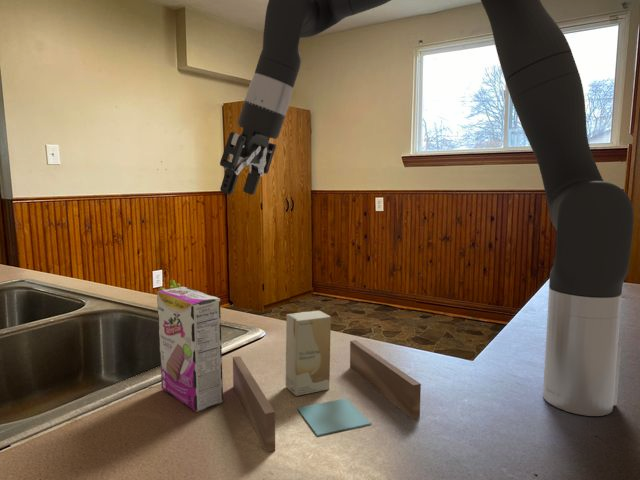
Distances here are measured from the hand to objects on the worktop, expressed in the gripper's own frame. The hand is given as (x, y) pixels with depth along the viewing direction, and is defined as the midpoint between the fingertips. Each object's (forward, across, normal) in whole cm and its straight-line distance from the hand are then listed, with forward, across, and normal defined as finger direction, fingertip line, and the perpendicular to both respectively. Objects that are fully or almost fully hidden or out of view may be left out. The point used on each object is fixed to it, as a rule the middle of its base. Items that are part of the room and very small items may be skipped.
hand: (237, 193), depth 82 cm
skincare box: (+24, -8, -27) cm, 36 cm away
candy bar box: (+30, -16, -11) cm, 36 cm away
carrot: (+34, -3, 0) cm, 34 cm away
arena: (+22, -12, -30) cm, 39 cm away
